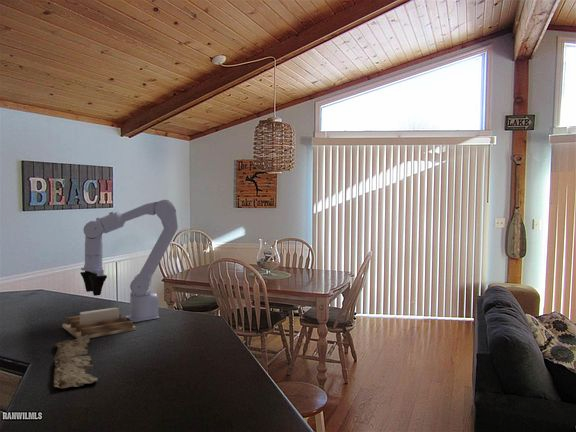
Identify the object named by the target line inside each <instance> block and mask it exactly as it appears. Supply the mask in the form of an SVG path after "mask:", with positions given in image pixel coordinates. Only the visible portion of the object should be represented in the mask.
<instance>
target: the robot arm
mask: <svg viewBox="0 0 576 432" xmlns="http://www.w3.org/2000/svg"><path fill="white" fill-rule="evenodd" d="M146 215H149V216H155V215H156V216H157V217H158V218H159V219H160V222H161V224H162V227H163V229H162V230H161V233H160V235H159V237H158V238H157V240H156V243H155V244H154V246H153V247H152V250H151V251H150V253H149V255H148V257H147V259H146V261H145V263H144V265H143V266H142V268H141V270H140V272H139V273H138V274H136V276H134V278H133V279H132V281H131V282H130V285H129V288H130V293H129V294H130V295H129V298H130V299H129V304H130V305H129V315H125V317H126V318H127V320H129V321H133V323H137V322H142V321H149V320H155V319H159V318H160V316H159V305H160V304H159V303H160V301H159V297H158V293H156V292H152V291H151V290H150V287H151V284H152V278H153V276H154V274H155V271H156V270H157V268H158V266H159V265H160V263H161V261H162V259H163V257H164V255H165V253H166V251H167V249H168V247H169V246H170V244H171V242H172V240H173V239H174V237H175V235H176V233H177V231H178V228H179V226H178V225H179V224H178V217H177V209H176V207H175V205H174V204H173V203H172V201H170V200H168V199H161V200H159V201H153V202H148V203H145V204H142V205H140V206H137V207H135V208H133V209H131V210H127V211H125V212H124V213H120V212H118V211H116V212H114V211H111V212H109V213H108V215H105V216H104V215H103V216H102V217H96V218H95V219H96V220H91V221H88V222H87V223H85V225H84V227H83V229H82V230H83V233H84V235H85V236H84V238H85V240H84V241H85V242H84V265H83V267H81V268H80V270H81V271H80V276H81V277H82V279H83V283H84V287H85V292H87V293H89V292H92V294H93V296H94V297H95V296H101V294H102V290H103V287H104V284H105V281H106V279H107V278H108V275H106V274H104V272H105V271H104V267H103V234H109V233H111V232H112V231H115V230H118V229H121V228H123V227H124V225H125V223H126V222H128V221H132V220H134V219H136V218H139V217H144V216H146Z"/></svg>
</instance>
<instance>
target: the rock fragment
mask: <svg viewBox="0 0 576 432" xmlns="http://www.w3.org/2000/svg"><path fill="white" fill-rule="evenodd" d="M90 339H91V338H89V335H88V334H87V335H85V336H82V337H79V338H75V339H74V340H73V339H72V340H63V341H58V342H56V343H55V347H57V349H56V351H55V352H56V353H55V354H54V356H53V366H54V367H55V368H54V372H53V373H54V374H53V387H54V388H59V389H66V388H70V387H71V388H72V387H76V388H77V387H81V386H84V385H86V384H94V383H95V382H99V378H98V377H97V375H93V374H91V373H90V374H89V373H87V372H86V371H87V370H94V364H92V362H93V361H92V357H91V354H90V353H89V352H88V350H89V348H88V347H89V346H88V343H90V341H91V340H90Z"/></svg>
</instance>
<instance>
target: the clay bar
mask: <svg viewBox="0 0 576 432" xmlns="http://www.w3.org/2000/svg"><path fill="white" fill-rule="evenodd" d="M119 314H120V308H119V307H109V308H101V309H95V310H87V311H82V312H81V311H80V312H79V316H80V324H84V323H91V322H97V321H104V320H110V319H117V318H119Z"/></svg>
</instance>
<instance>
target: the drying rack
mask: <svg viewBox="0 0 576 432" xmlns="http://www.w3.org/2000/svg"><path fill="white" fill-rule="evenodd" d="M61 325H62V328H63V329H64V330H65V331H67V332H68V333H69V334H70V335H71V336H73V337H74V338H75V339H77V338H79V337H82V336H85V335H87V334H88V335H89V339H92V338H98V337H104V336H110V335H116V334H121V333H122V334H123V333H127V332H132V331H136V330H137V326H135V325H134V322H133V321H132V320H128V318H126V316H125V317H122V315H121V314H120V313H119V318H117V319H110V320H104V321H97V322H91V323H84V324H80V315H77V316H69V317H65V323H62V324H61Z"/></svg>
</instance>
